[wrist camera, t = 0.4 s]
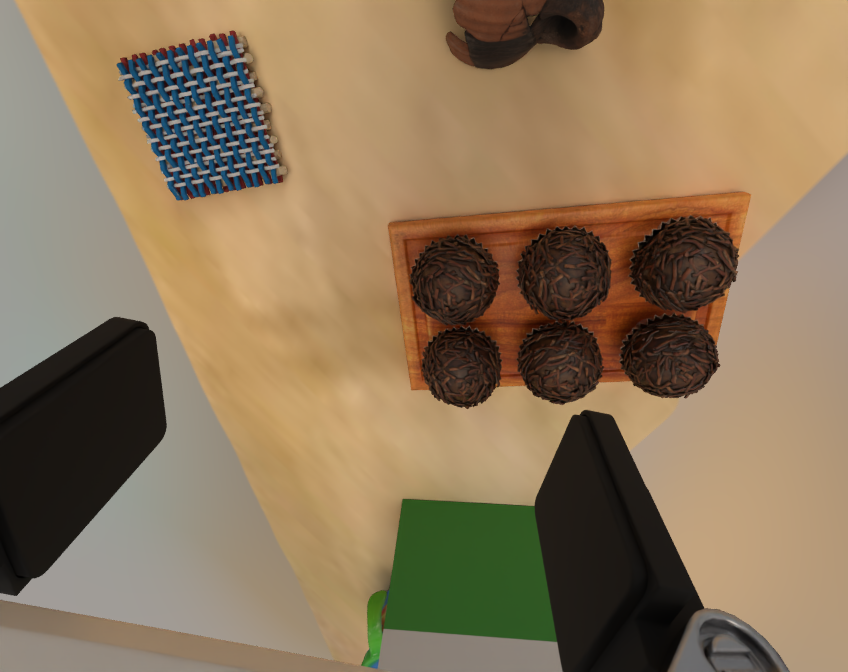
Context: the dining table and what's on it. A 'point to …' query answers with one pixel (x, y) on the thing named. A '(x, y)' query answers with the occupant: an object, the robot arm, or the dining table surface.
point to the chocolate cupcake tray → (568, 297)
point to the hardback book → (468, 592)
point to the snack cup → (375, 627)
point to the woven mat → (203, 116)
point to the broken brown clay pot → (521, 28)
